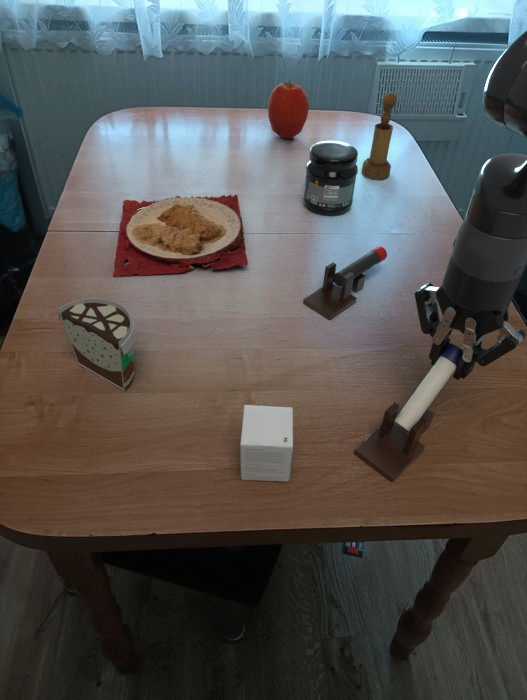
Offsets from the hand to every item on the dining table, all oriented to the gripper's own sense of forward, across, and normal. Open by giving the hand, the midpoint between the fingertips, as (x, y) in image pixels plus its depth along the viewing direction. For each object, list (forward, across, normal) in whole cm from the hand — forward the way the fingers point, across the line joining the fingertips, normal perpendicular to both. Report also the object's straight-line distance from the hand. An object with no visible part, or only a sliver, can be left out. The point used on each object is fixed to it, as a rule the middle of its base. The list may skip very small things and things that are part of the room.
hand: (447, 368), depth 69 cm
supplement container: (+9, +47, -33) cm, 58 cm away
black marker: (+6, +25, -15) cm, 30 cm away
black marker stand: (+8, +25, -9) cm, 28 cm away
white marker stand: (+8, 0, +9) cm, 12 cm away
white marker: (+2, 0, +3) cm, 4 cm away
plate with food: (+8, +58, -2) cm, 59 cm away
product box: (+8, +10, +23) cm, 26 cm away
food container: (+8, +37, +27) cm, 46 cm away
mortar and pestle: (+10, +49, -53) cm, 73 cm away
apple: (+3, +77, -52) cm, 93 cm away
